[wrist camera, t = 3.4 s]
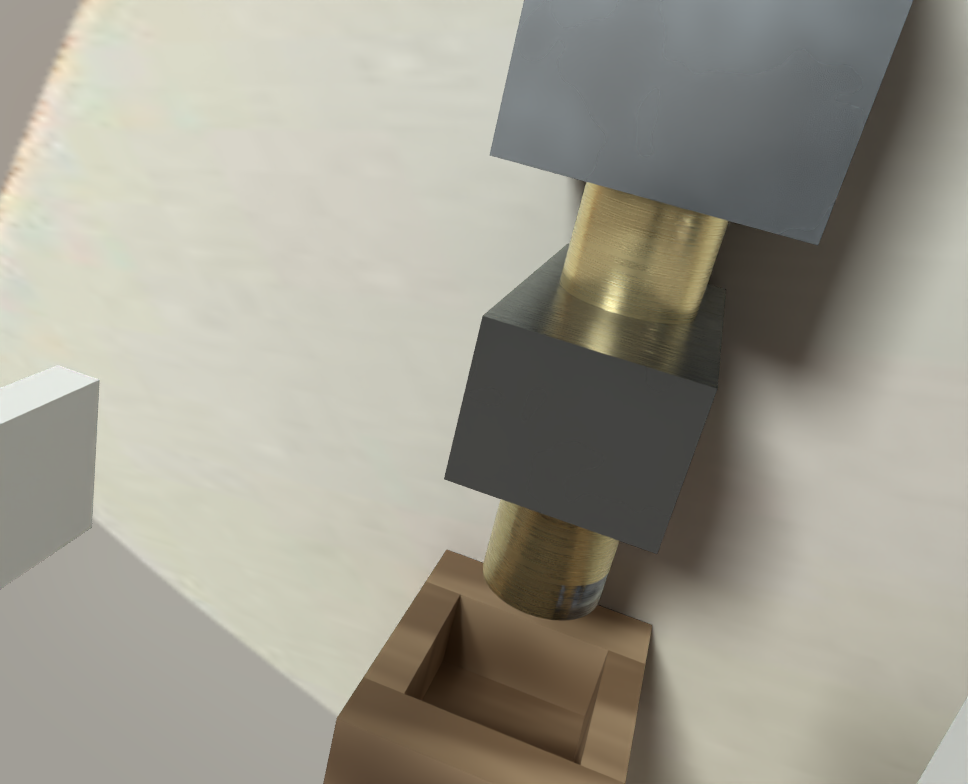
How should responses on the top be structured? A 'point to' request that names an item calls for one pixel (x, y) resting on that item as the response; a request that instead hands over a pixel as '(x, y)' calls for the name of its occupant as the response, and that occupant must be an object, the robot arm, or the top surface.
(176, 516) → the top surface
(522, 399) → the tube
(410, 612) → the socket block
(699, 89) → the sleeve
